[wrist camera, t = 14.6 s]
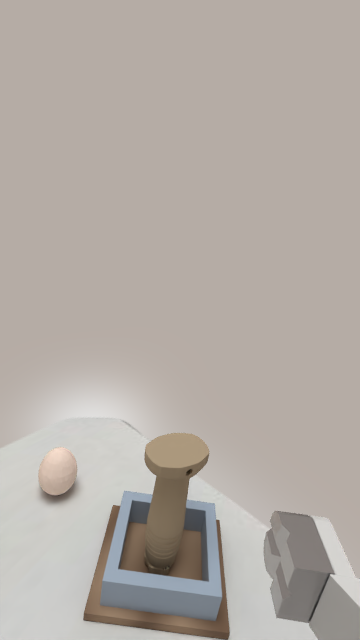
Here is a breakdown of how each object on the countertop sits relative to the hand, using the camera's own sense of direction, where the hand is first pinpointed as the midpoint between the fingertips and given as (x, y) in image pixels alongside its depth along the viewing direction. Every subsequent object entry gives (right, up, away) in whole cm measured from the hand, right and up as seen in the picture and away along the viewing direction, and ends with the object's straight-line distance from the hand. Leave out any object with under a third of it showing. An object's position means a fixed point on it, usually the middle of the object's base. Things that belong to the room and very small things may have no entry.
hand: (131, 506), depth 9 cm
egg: (-15, -18, +35) cm, 42 cm away
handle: (-1, -22, +27) cm, 35 cm away
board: (-1, -23, +28) cm, 36 cm away
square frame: (-1, -23, +28) cm, 36 cm away
